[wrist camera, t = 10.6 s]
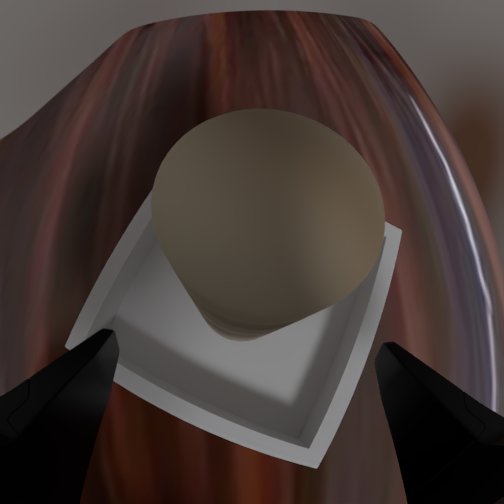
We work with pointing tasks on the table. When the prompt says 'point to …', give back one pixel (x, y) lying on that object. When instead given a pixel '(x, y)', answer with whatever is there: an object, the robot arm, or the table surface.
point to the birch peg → (266, 219)
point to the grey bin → (233, 351)
